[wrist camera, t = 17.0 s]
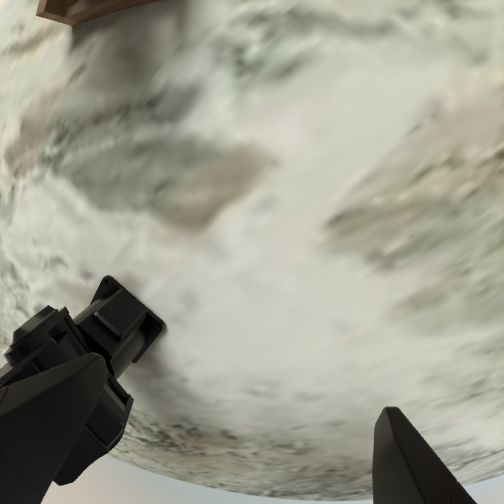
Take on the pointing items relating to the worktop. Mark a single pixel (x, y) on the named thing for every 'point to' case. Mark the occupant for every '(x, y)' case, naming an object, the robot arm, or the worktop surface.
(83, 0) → the small wooden crate
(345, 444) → the worktop surface
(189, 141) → the worktop surface
